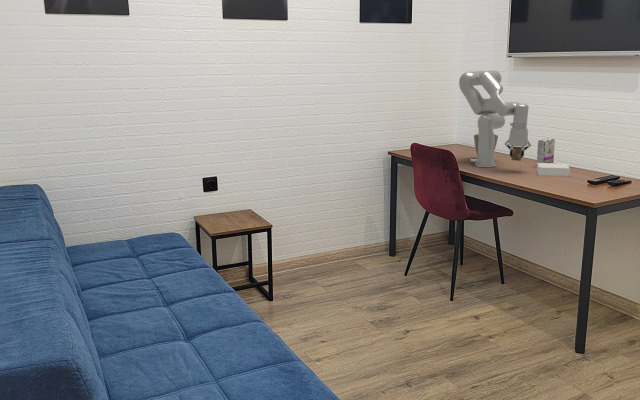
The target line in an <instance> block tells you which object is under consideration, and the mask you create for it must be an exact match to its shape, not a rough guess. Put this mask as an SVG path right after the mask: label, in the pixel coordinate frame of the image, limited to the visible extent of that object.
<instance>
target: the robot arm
mask: <svg viewBox="0 0 640 400" xmlns="http://www.w3.org/2000/svg"><path fill="white" fill-rule="evenodd" d="M458 82H459V83H458V86H459V89H460V91H461V93H462V94H463V96H464V98H465V99H466V101H467V103H468V105H469V106H470V108H471V109H472V112H473V113H474V114H475V115H476V116H478V119H477V129H478V134H479V142H478V156H477V158H470V160H469V162H470V163H475V164H474V166H475V167H478V168H495V167H497V163H495V161H494V160H495V151H494V147H495V135H496V134H495V133H494V130H496V129H501V128H503V127H504V126H505V124H506V119H505V117H506V116H513V119H512V120H513V121H512V123H510V124H509V126H510V127H511V128H510V131H509V136H508V139H507V140H506V141H505V142H504V146H506V147H507V148H508V150H509V156H510V158H512V150H513V147H522V153H521V159H522V158H523V157H524V156H525V151H526V150H527V149H530V147H532V144H531V143H530V141H529V129H528V128H527V127H528V117H529V105H528V104H526V103H519V102H517V101H508V102H504V101H503V99H501V97H500V95H502V93H503V91H504V86H503V85H501V82H502V74H500V72H499V71H498V70H483V71H468V72H467V71H466V72H464V73H463V74H461V76H460V77H459V80H458ZM475 86H482V88H483V89H484V90H485V91H486V92H487V94H488V95H489V96H490V97H489V98H483V96H482V95H481V93H480V91H479V90H478V89H477V88H475ZM495 148H496V147H495Z"/></svg>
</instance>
